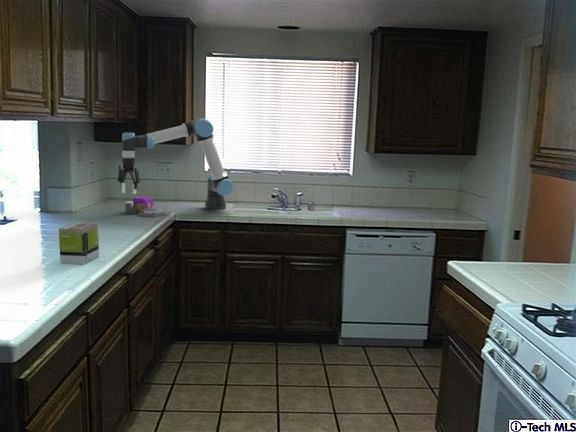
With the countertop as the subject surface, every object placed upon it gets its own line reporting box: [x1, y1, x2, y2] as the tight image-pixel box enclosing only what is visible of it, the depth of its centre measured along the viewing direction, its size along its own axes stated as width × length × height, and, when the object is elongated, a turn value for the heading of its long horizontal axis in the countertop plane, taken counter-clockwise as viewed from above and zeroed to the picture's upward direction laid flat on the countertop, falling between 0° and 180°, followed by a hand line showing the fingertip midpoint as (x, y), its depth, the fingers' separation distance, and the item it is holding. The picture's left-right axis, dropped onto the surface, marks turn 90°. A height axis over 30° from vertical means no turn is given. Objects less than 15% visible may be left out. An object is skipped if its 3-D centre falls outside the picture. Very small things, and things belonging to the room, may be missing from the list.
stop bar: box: [133, 203, 145, 214], centre depth 352 cm, size 13×2×6 cm, turn 67°
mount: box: [137, 208, 166, 218], centre depth 345 cm, size 12×12×4 cm
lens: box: [124, 200, 134, 216], centre depth 345 cm, size 5×5×8 cm
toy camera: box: [132, 196, 154, 209], centre depth 359 cm, size 11×14×10 cm
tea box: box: [58, 222, 100, 266], centre depth 223 cm, size 15×10×15 cm, turn 175°
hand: (128, 193), depth 344 cm, fingers open, 8 cm apart
